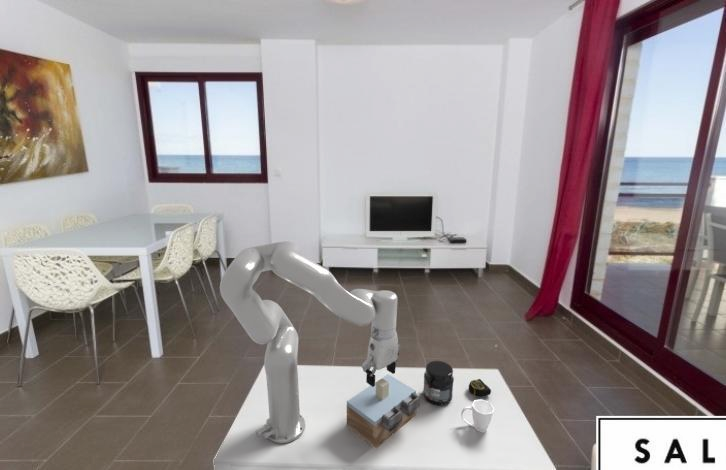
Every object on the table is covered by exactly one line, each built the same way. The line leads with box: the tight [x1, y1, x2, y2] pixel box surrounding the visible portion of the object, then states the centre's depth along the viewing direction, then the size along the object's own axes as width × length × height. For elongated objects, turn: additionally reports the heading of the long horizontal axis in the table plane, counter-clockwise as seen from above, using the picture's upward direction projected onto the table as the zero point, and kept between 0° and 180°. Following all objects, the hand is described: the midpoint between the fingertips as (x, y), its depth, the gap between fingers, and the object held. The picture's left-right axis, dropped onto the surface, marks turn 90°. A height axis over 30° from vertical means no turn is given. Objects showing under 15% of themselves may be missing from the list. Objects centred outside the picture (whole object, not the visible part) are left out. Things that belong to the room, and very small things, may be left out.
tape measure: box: [468, 378, 492, 398], centre depth 133 cm, size 7×7×4 cm
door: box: [346, 373, 417, 426], centre depth 117 cm, size 20×14×6 cm
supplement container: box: [422, 360, 455, 407], centre depth 130 cm, size 10×10×12 cm
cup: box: [460, 398, 495, 433], centre depth 116 cm, size 7×10×8 cm
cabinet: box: [346, 393, 421, 449], centre depth 118 cm, size 20×16×10 cm
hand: (380, 377), depth 116 cm, fingers open, 9 cm apart
